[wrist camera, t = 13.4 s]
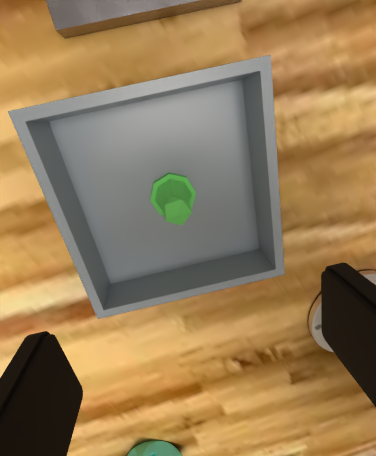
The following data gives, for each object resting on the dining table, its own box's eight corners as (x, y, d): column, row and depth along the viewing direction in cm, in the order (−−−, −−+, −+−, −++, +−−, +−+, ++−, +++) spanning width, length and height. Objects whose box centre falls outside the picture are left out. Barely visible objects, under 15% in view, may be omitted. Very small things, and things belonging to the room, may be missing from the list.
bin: (247, 68, 22) (270, 54, 18) (264, 250, 30) (284, 274, 25) (38, 113, 22) (7, 111, 17) (107, 287, 29) (97, 319, 24)
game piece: (145, 176, 24) (142, 192, 19) (191, 168, 24) (202, 182, 19) (154, 219, 26) (154, 246, 20) (197, 211, 26) (209, 236, 21)
